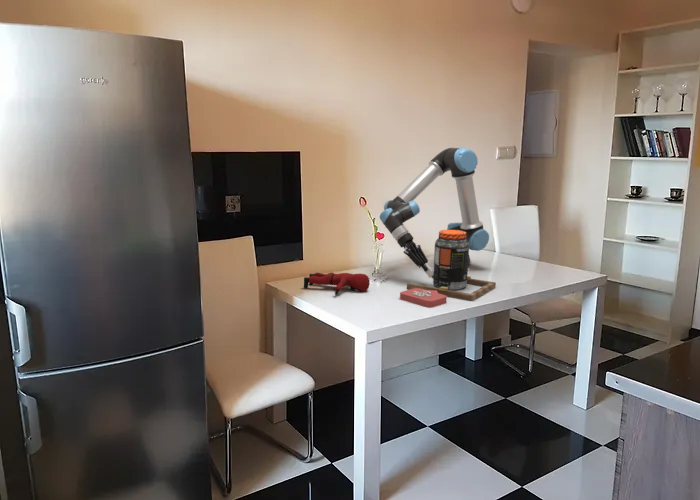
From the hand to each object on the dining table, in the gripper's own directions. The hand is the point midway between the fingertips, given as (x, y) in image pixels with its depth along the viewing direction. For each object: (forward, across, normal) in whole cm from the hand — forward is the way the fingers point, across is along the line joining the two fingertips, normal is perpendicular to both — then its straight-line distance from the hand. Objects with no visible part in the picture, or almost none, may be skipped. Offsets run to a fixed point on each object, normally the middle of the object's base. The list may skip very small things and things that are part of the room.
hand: (432, 275), depth 255 cm
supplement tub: (+8, -4, +2) cm, 10 cm away
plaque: (+10, +22, +2) cm, 24 cm away
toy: (-18, +31, -27) cm, 45 cm away
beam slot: (+9, -1, +3) cm, 10 cm away
